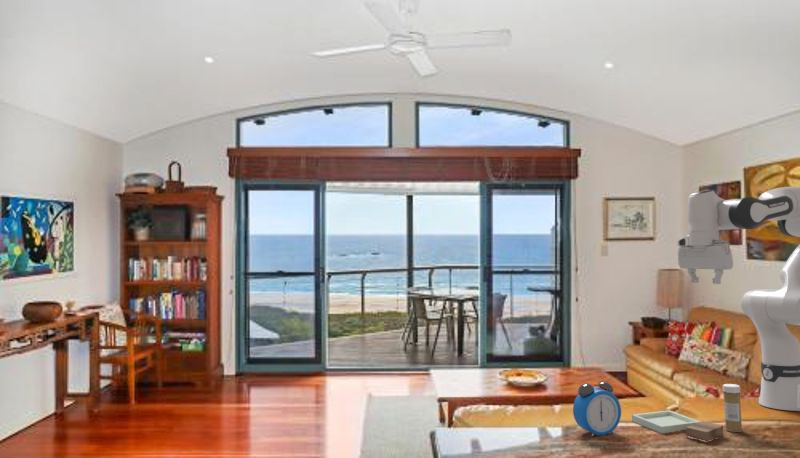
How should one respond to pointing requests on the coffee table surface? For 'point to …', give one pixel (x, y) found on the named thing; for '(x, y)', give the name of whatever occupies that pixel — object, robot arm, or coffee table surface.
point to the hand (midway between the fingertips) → (705, 283)
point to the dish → (664, 421)
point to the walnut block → (704, 431)
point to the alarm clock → (597, 408)
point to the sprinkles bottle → (732, 407)
